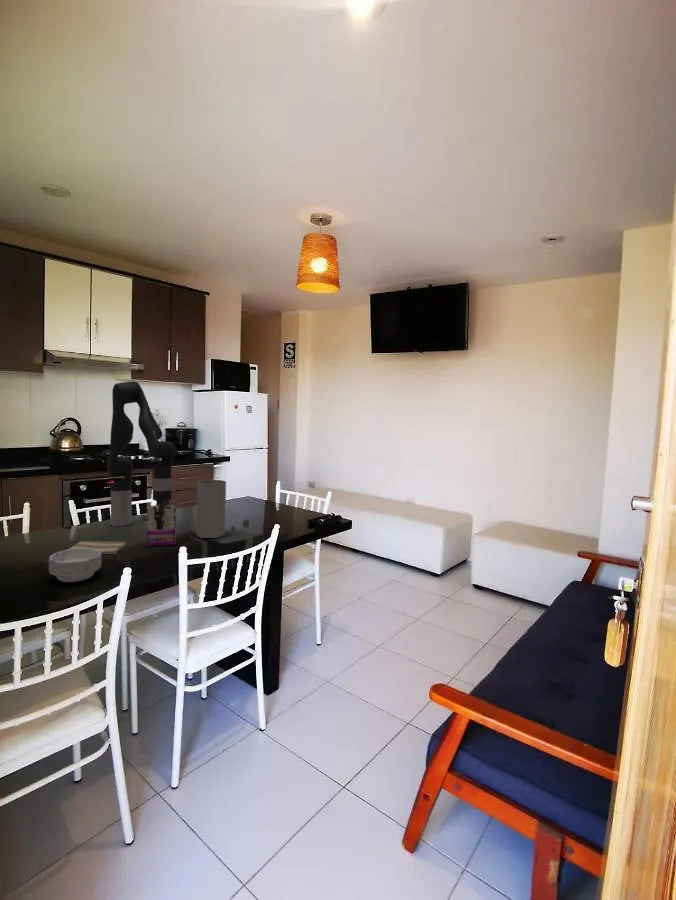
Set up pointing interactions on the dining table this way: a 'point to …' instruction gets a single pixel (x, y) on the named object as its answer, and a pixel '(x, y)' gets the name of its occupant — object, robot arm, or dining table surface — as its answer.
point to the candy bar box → (169, 527)
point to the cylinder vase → (211, 508)
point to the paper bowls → (74, 564)
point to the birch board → (101, 546)
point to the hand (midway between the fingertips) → (161, 527)
